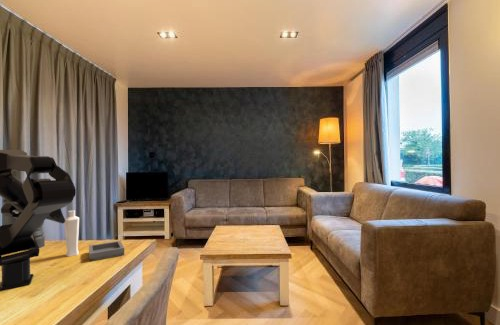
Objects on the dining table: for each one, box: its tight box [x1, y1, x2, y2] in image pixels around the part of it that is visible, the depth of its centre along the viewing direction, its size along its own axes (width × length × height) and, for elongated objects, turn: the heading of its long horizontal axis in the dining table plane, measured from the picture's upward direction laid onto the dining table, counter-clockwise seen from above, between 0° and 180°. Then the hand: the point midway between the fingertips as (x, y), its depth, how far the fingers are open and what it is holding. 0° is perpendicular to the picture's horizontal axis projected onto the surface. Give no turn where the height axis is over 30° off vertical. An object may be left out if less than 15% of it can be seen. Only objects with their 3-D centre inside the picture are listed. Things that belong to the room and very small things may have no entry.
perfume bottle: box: [63, 209, 80, 257], centre depth 93 cm, size 5×4×15 cm
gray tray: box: [88, 240, 125, 262], centre depth 93 cm, size 10×10×2 cm
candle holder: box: [22, 180, 46, 249], centre depth 102 cm, size 6×6×25 cm
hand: (52, 221), depth 87 cm, fingers open, 9 cm apart
